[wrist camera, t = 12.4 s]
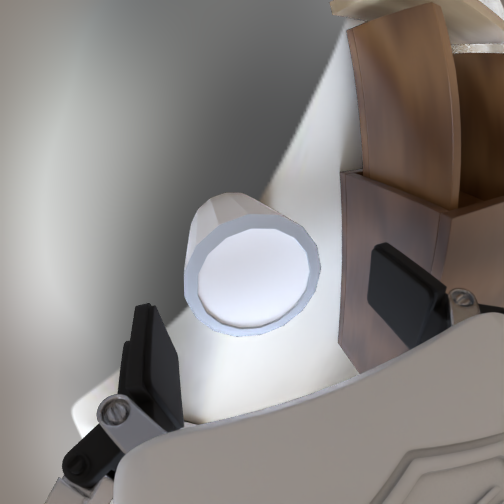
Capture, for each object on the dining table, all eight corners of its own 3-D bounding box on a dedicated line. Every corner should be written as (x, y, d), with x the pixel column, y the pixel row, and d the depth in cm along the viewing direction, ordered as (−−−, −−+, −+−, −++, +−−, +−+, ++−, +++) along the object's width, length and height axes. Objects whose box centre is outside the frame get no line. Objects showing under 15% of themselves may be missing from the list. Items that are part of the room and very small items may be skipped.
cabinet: (339, 171, 19) (452, 218, 10) (452, 160, 22) (537, 190, 12) (337, 342, 27) (389, 417, 18) (432, 299, 30) (487, 348, 20)
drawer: (314, -45, 10) (381, -96, 3) (432, -6, 12) (499, -17, 5) (353, 213, 20) (437, 266, 12) (454, 192, 22) (522, 223, 14)
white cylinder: (191, 283, 20) (199, 349, 14) (172, 192, 17) (168, 229, 11) (280, 265, 21) (319, 320, 15) (274, 176, 18) (323, 203, 12)
